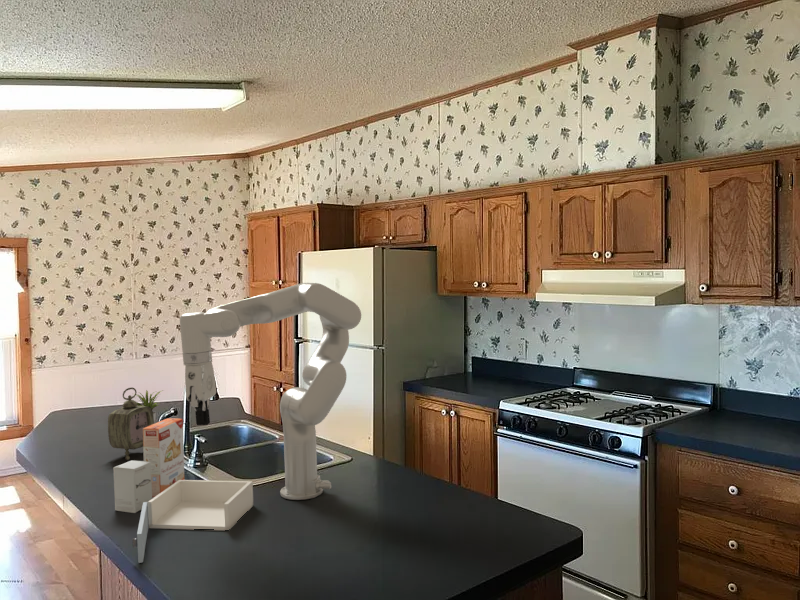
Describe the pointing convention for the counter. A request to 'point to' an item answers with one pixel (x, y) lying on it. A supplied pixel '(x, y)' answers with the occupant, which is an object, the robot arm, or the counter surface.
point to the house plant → (150, 404)
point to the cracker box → (164, 453)
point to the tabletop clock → (129, 424)
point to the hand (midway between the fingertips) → (203, 424)
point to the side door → (142, 533)
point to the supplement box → (132, 485)
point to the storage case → (200, 504)
